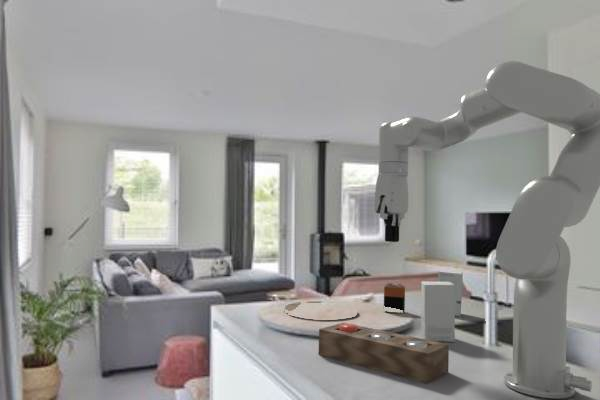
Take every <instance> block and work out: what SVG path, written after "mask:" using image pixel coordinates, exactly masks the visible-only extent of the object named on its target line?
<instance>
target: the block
mask: <svg viewBox="0 0 600 400" xmlns="http://www.w3.org/2000/svg"><path fill="white" fill-rule="evenodd" d="M340 324H349V323H347V322H341V323H337V324H334V325H329V326H326V327H321V328H319V329H318V355H320V356H324V357H327V358H330V359H334V360H336V361H337V360H339V361H342V362H345V363H348V364H353V365H357V366H360V367H364V368H367V369H371V370H375V371H379V372H382V373H386V374H389V375H393V376H398V377H401V378H405V379H409V380H410V381H411V380H412V381H414V382H415V381H416V382H420V383H424V384H427V385H428V384H431V383H432V382H434V381H436V380H438V379H439V378H441V377H442V376H445V375H446V374H448V373H449V357H450V355H449V354H450V353H449V349H450V344H449V343H445V342H441V341H430V340H425V339H424V338H420V337H415V336H410V335H407V334H399V333H395V332H390V331H386V330H381V329H377V328H373V327H372V328H370V327H366V326H361V325H357V326H358V331H356V332H353V333H349V332H344V331H339V325H340ZM373 333H384V334H388V335H390V336H391V338H390V339H387V340H380V339H376V338H371V334H373ZM407 341H422V342H425V343H427V347H425V348H423V349H421V348H417V347H412V346H407V345H406V344H407Z"/></svg>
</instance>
